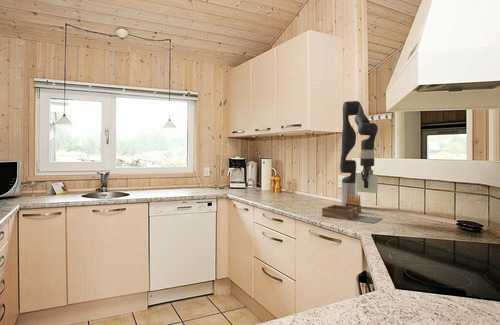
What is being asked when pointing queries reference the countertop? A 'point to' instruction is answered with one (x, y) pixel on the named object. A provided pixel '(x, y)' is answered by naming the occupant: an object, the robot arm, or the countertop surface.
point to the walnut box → (340, 212)
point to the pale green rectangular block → (371, 184)
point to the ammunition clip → (353, 201)
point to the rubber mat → (366, 219)
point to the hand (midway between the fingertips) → (366, 187)
